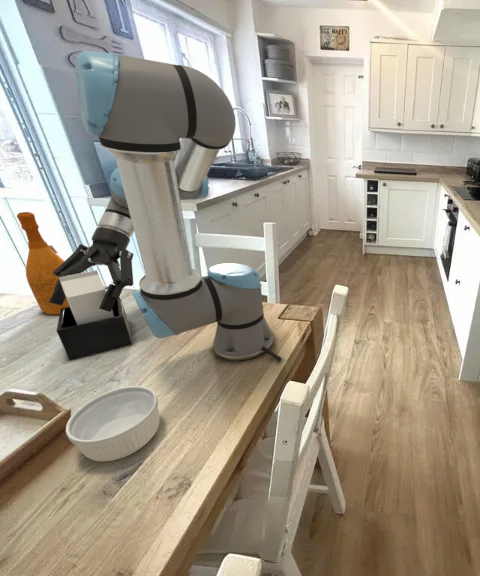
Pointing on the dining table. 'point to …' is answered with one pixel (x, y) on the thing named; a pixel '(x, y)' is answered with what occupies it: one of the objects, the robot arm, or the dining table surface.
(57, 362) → the dining table surface
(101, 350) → the open black box
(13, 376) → the dining table surface
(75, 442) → the ramekin
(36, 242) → the wine bottle
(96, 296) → the milk carton
